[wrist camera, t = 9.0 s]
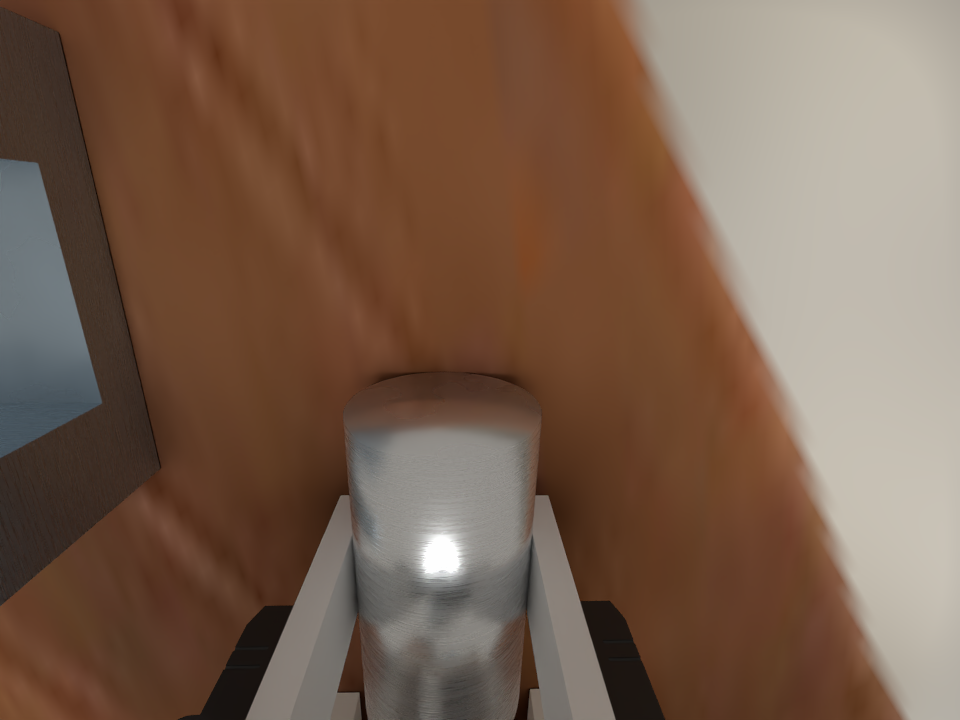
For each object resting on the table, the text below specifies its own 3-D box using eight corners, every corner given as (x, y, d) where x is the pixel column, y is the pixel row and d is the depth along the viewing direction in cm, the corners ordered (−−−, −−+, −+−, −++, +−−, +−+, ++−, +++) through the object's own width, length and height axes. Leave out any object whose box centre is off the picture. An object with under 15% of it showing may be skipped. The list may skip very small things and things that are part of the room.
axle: (532, 639, 16) (495, 804, 12) (409, 601, 18) (332, 735, 13) (555, 385, 13) (516, 476, 8) (401, 363, 14) (297, 432, 10)
